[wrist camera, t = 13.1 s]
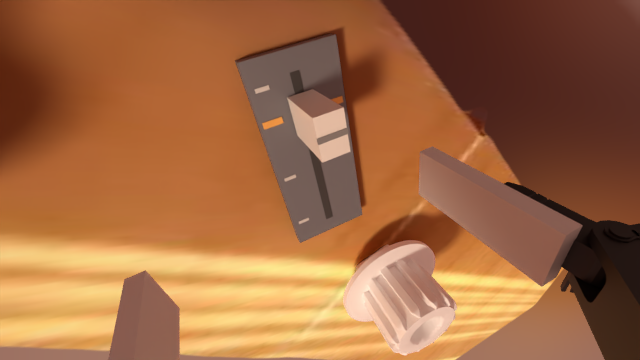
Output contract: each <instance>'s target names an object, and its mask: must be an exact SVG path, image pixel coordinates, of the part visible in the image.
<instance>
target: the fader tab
mask: <svg viewBox="0 0 640 360" xmlns="http://www.w3.org/2000/svg"><path fill="white" fill-rule="evenodd" d="M287 99H288V103H289V106H290V110H291V114H292V118H293V121H294V125H295V129H296V132H297V135H298V137H299V138H300V139H301V140H302V141H303V142H304V143H305V144H306V145H307V146H308V147H309V149H310V150H311V151H312V152H313V153H314V154H315V155H316V156H317V157H318V158H319V159H320V161H321V162H322V163H323V162H325V161H328V160H330V159H333V158H336V157H338V156H341V155H343V154H346V153H348V152H350V145H349V138H348V134H349V133H348V128H347V125H346V119H345V112H344V107H342V106H341V105H339V104H337V103H336V102H334V101H332V100H331V99H329V98H327V97H325V96H324V95H322V94H320V93H319V92H317V91H315V90H314V89H311V90H308V91H305V92H302V93H299V94H296V95H293V96H290V97H287Z"/></svg>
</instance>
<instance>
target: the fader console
mask: <svg viewBox="0 0 640 360" xmlns="http://www.w3.org/2000/svg"><path fill="white" fill-rule="evenodd" d="M235 62H236V65H237V68H238V71H239V73H240V76H241V79H242V82H243V85H244V88H245V90H246V93H247V96H248V99H249V102H250V105H251V107H252V110H253V113H254V116H255V119H256V122H257V124H258V127H259V130H260V133H261V136H262V139H263V141H264V144H265V147H266V150H267V153H268V156H269V158H270V161H271V164H272V167H273V170H274V173H275V176H276V178H277V181H278V184H279V187H280V190H281V193H282V195H283V198H284V201H285V204H286V207H287V210H288V212H289V215H290V218H291V221H292V224H293V227H294V229H295V232H296V235H297V238H298V240H299V242H300V243H301V242H303V241H305V240H308V239H310V238H312V237H314V236H316V235H319V234H321V233H323V232H325V231H327V230H330V229H332V228H334V227H336V226H338V225H341V224H343V223H345V222H347V221H349V220H352V219H354V218H356V217H358V216H360V215H362V209H361V203H360V196H359V189H358V182H357V175H356V168H355V161H354V154H353V148H352V141H351V134H350V127H349V120H348V113H347V106H346V100H345V93H344V86H343V79H342V72H341V65H340V58H339V52H338V45H337V38H336V34H327V35H323V36H320V37H316V38H313V39H309V40H306V41H302V42H299V43H295V44H292V45H288V46H285V47H281V48H278V49H274V50H271V51H267V52H264V53H260V54H257V55H254V56H250V57H247V58H243V59H240V60H236V61H235ZM311 89H314V90H315V91H317V92H319V93H320V94H322V95H324V96H325V97H327V98H329V99H331V100H332V101H334V102H336V103H337V104H339V105H341V106H342V107H344V112H345V119H346V125H347V128H348V133H349V134H348V138H349V145H350V152H348V153H346V154H343V155H341V156H338V157H336V158H333V159H330V160H328V161H325V162H323V163H322V162H321V161H320V159H319V158H318V157H317V156H316V155H315V154H314V153H313V152H312V151H311V150H310V149H309V147H308V146H307V145H306V144H305V143H304V142H303V141H302V140H301V139H300V138H299V137H298V135H297V132H296V129H295V125H294V121H293V118H292V114H291V110H290V106H289V103H288V99H287V97H290V96H293V95H296V94H299V93H302V92H305V91H308V90H311Z"/></svg>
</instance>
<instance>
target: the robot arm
mask: <svg viewBox="0 0 640 360" xmlns="http://www.w3.org/2000/svg"><path fill="white" fill-rule="evenodd" d="M419 195H421V196H422V197H423V198H425V199H426V200H427V201H428V202H430V203H431V204H432V205H434V206H435V207H436V208H438V209H439V210H440V211H442V212H443V213H444V214H446V215H447V216H448V217H450V218H451V219H452V220H454V221H455V222H456V223H458V224H459V225H460V226H462V227H463V228H464V229H466V230H467V231H468V232H470V233H471V234H472V235H474V236H475V237H476V238H478V239H479V240H480V241H482V242H483V243H484V244H486V245H487V246H488V247H490V248H491V249H492V250H494V251H495V252H496V253H498V254H499V255H500V256H502V257H503V258H504V259H506V260H507V261H508V262H510V263H511V264H512V265H514V266H515V267H516V268H518V269H519V270H520V271H522V272H523V273H524V274H526V275H527V276H528V277H530V278H531V279H532V280H534V281H535V282H536V283H538V284H539V285H540V286H541V287H542V286H543V285H545V284H546V283H548V282H550V281H551V280H553V279H554V278H556V277H557V275H558V273H559V271H560V269H561V267H563V268H564V269H566V270H567V271H568V273H567V275H566V277H565V279H564V280H563V282H562V284H561V291H566V289H567V287H568V285H569V284H570V285H571V290H570V292H572V293H575V295H576V298H577V300H578V302H579V304H580V306H581V309H582V311H583V313H584V315H585V317H586V319H587V322H588V324H589V326H590V328H591V331H592V333H593V335H594V337H595V339H596V341H597V344H598V346H599V348H600V350H601V352H602V355H603V357H604V359H605V360H640V224H635V225H627V224H624V223H621V222H617V221H610V220H607V221H599V222H594V221H592V220H590V219H588V218H586V217H584V216H581V215H580V214H578V213H576V212H574V211H571V210H570V209H567V208H566V207H564V206H562V205H560V204H558V203H556V202H554V201H552V200H547V198H546V197H544V196H542V195H540V194H536V193H535V192H534V191H532V190H530V189H528V188H526V187H524V186H521V185H517V184H514V183H510V182H506V183H504V184H503V183H501V182H499V181H497V180H495V179H493V178H491V177H490V176H488V175H486V174H484V173H482V172H480V171H478V170H476V169H474V168H472V167H470V166H469V165H467V164H465V163H463V162H461V161H459V160H457V159H455V158H453V157H451V156H449V155H448V154H446V153H444V152H442V151H440V150H438V149H436V148H434V147H430V148H428V149H425V150H423V151H421V152H420V169H419ZM108 360H179V307H178V306H177V305H176V304H175V303H174V302H173V301H172V299H171V298H170V297H169V296H168V295H167V294H166V293H165V292H164V291H163V289H162V288H161V287H160V286H159V285H158V284H157V283H156V282H155V280H154V279H153V278H152V277H151V276H150V275H149V274H148V273H147V272H146V270H145V271H143V272H141V273H138V274H136V275H134V276H132V277H129V278H127V279H125V280H124V285H123V290H122V295H121V300H120V305H119V310H118V314H117V319H116V324H115V329H114V334H113V339H112V344H111V349H110V354H109V359H108Z"/></svg>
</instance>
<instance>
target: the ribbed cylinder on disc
mask: <svg viewBox="0 0 640 360" xmlns="http://www.w3.org/2000/svg"><path fill="white" fill-rule="evenodd" d="M434 267H435V255H434V253H433V251H432V250H431V249H430V248H429V247H428V246H427V245H426V244H425V243H423V242H421V241H417V240H407V241H401V242H398V243H395V244H392V245H390V246H389V245H388V244H387V245H385V246H383V247H382V248H380V249H379V250H378V251H376V252H375V253H373V254H372V255H371V256H369V257H368V258H366V259H365V260H363V261H362V262H361V263H359V264H358V265H357V266H356V269H357V271H356V272H355V273H354V275H353V276H352V277H351V279H350V281H349V282H348V284H347V286H346V289H345V292H344V297H343V303H344V307H345V309H346V311H347V313H348V314H349V316H350V317H351V318H353V319H355V320H358V321H374V322H375V324H376V325H377V327H378V329H379V330H380V332H381V333H382V335H383V337H384V338H385V340H386V342H387V343H388V345H389V347H390V348H391V349H392V350H393V352H395V353H400V354H402V355H407V354H408V353H413V352H416V351H417V352H419V351H420V350H421V349H423V348H425V347H426V346H428V345H429V344H431V343H434V341H435V340H436V339H437V338H439V337H440V336H441V335H442V334H443V333H444V332H445V331H447V328H448V327H449V326H450V324H451V322H452V321H453V320H454V319H455V312H454V311H455V310H457V306H456V303H455V301H454V300H453V299H452V298H451V297H450V296H449V294H448V293H447V292H446V291H445V290H444V289H443V288H442V287H441V286H440V285H439V284H438V283H437V282H436V281H435V279H434V278H433V277H432V276H431V275H432V273H433V270H434Z"/></svg>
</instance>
